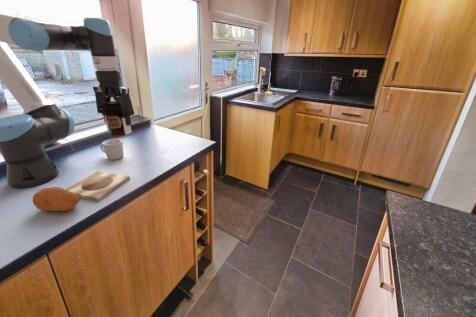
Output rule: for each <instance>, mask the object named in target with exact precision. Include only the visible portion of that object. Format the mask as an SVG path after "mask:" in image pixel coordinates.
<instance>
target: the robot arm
mask: <svg viewBox="0 0 476 317" xmlns="http://www.w3.org/2000/svg"><path fill="white" fill-rule="evenodd" d="M8 44H10V45H15V46H18V47H19V48H20V49H23V50H26V51H35V52H40V51H88V52H89V51H90V55H91V60H92V65H93V67H94V69H95V71H94V74H95V77H96V81H97V82H98V83H99V85H95V86H93V87H92V90H93V91H94V95H95V96H94V97H95V103H96V111H97V113H98V114H101V115H102V116H103V120H104V123H105V124H106V129H107V133H112V132H111V130H110V128H109V126H108V123H107V120H106V117H105V112H104V110H103V109H102V106H103V104H104V103H103V102H108V101H112V99H113V101H115V100H116V102H117V103H118V105H119V106H120V107H121V112H122V114H123V117H122V120H123V126H124V131H125V134H129V135H130V133H132V127H131V125H132V120H131V116H135V110H134V106H133V103H132V99H131V97H130V88H129V87H123V86H122V85H121V75H120V71H119V62H118V60H117V58H118V57H117V54H116V48H115V43H114V34H113V32H112V27H111V24H110V21H109V20H108V19H105V18H101V17H84V18H83V25H79V24H75V25H74V24H63V23H54V22H45V21H41V20H40V21H37V20H32V19H27V18H21V17H16V16H11V15H6V14H1V13H0V81H1V83H2V84H3V85H4V86H5V87H6V89H7V90H8V92H9V93H10V95H11V96H12V97H13V98H14V100H15V101H16V102H17V104H18V105H19V106H20V107H21V108H22V109H23V113H22V114H16V115H12V116H6V117H4V118H0V153H1V155H2V157H3V160H4V162H5V165H6V181H7V184H8V186H9V187H11V188H13V189H26V188H31V187H32V188H33V187H36V186H41V185H42V184H45V183H47V182H50V181H52V180H53V179H55V178H56V177H57V176H59V173H60V171H59V169H58V166H57V165H56V164H55V163H54V162H53V161H52V160H51V159H50V157H49V156H48V154H47V152H46V149H45V147H46V146H49V145H50V144H54V143H55V142H58V141H62V140H64V139H66V138H67V137H69V136H71V135H72V134H73V133H74V131H75V119H74V117H73V115H72V114H71V113H70V112H69V111H68V110H65V109H64V108H59V107H58V105H57V104H56V103H55V102H52V101H49V100H48V99H47V98H46V97H45V95H44V93H43V92H42V90H40V88H39V87H38V85H37V84H36V82H35V81H34V80H33V79H32V77H31V76H30V75H29V73H28V71H27V70H26V68H25V67H24V66H23V64H22V63H21V62H20V60H19V59H18V58H17V56H16V55H15V54H14V52H13V51H12V49H11V48H10V46H8Z"/></svg>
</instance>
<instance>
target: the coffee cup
mask: <svg viewBox="0 0 476 317" xmlns="http://www.w3.org/2000/svg"><path fill="white" fill-rule="evenodd" d="M103 103H104V104H103V106H102V109H103V110H104V112H105V117H106V120H107V123H108V126H109V128H110V130H111V132H110V134H111V137H115V138H117V137H118V138H119V137H121V138H122V137H126V136H129V135H130V133H129V134H125V131H124V126H123V120H122V117H123V114H122V112H121V107H120V106H119V105H118V103H117V102H116V100H111V101H108V102H103Z"/></svg>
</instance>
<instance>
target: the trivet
mask: <svg viewBox="0 0 476 317" xmlns="http://www.w3.org/2000/svg"><path fill="white" fill-rule="evenodd" d="M130 177H131V176H129V175H124V174H119V173H111V172H107V171H106V172H105V171H99V170H97V171H95V172H93V173H90V175H88V176H86V177H85V178H83V179H81V180H79V181H77V182H75V183H74V184H72V185H71V186H68V187H67V188H65V190H67V191H70V192H72V193H75V194H77V195H78V196H79V198H82V199H87V200H93V201H97V202H99V201H101V200H102V199H104V198H105V197H107V196H108V195H110V194H111V193H112V192H114V191H115V190H116V189H118V188H119V187H121V186H122V185H123V184H125V183H126V182H128V181H129V180H131V178H130Z"/></svg>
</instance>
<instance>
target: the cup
mask: <svg viewBox="0 0 476 317" xmlns="http://www.w3.org/2000/svg"><path fill="white" fill-rule="evenodd" d="M99 147H100V150H101V152H102V153H105V155H106V157H107V159H108V160H110V161H117V160H120V159H122V158H123V157H124V145H123V139H121V138H110V139H107V140H104V141H103V142H102V143H100V145H99Z"/></svg>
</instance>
